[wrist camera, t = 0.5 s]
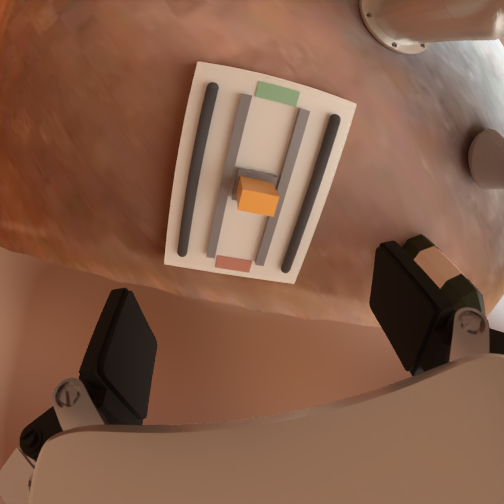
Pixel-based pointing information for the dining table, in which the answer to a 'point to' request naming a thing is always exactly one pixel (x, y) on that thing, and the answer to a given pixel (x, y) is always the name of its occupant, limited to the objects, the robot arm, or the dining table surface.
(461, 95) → the dining table surface
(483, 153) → the coffee pot
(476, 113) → the dining table surface
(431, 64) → the dining table surface
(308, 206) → the dressed cords
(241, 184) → the handle
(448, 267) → the wine bottle
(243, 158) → the slider track board
